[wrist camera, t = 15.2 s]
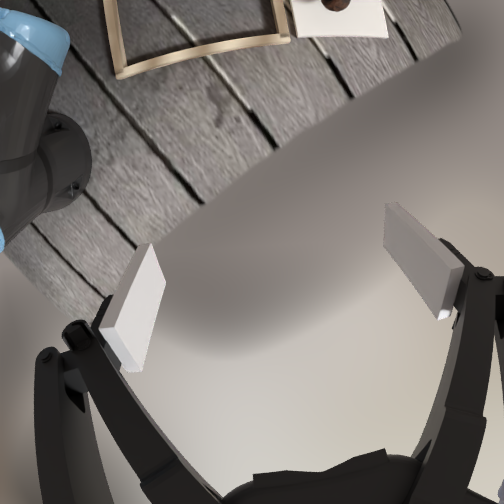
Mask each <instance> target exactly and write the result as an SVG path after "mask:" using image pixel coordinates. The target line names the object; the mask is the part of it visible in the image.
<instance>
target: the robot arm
mask: <svg viewBox="0 0 504 504" xmlns="http://www.w3.org/2000/svg"><path fill="white" fill-rule="evenodd" d="M69 46H70V37H69V34H68V33H67V31H66V30H65V29H63V28H62V27H60V26H58V25H56V24H54V23H51V22H49V21H46V20H44V19H41V18H38V17H36V16H33V15H29V14H26V13H23V12H19V11H15V10H9V9H4V8H1V7H0V253H1V252H2V251H3V249H4V247H5V246H6V245H7V244H8V243H9V242H10V241H11V240H13V239H14V238H15V237H16V236H17V235H18V234H19V233H20V232H21V231H22V230H23V229H24V228H25V227H26V226H27V225H28V224H30V223H31V222H32V221H33V220H34V219H35V218H36V217H37V216H39V215H40V214H41V213H46V212H51V211H55V210H59V209H62V208H64V207H66V206H68V205H69V204H71V203H72V202H73V201H74V200H75V199H77V198H78V197H79V196H80V195H81V193H82V192H83V191H84V189H85V188H86V186H87V183H88V181H89V178H90V174H91V167H92V157H91V150H90V146H89V143H88V140H87V138H86V136H85V134H84V132H83V130H82V129H81V128H80V126H79V125H78V124H77V123H76V122H75V121H73V120H72V119H71V118H69V117H67V116H65V115H62V114H57V113H50V114H47V111H48V108H49V105H50V101H51V98H52V95H53V92H54V89H55V86H56V84H57V81H58V78H59V77H61V74H62V71H61V68H62V65H63V63H64V60H65V57H66V54H67V51H68V49H69ZM383 246H384V248H385V249H386V250H387V251H388V253H389V254H390V255H391V257H392V258H393V259H394V261H395V262H396V263H397V264H398V266H399V267H400V268H401V270H402V271H403V272H404V274H405V275H406V276H407V278H408V279H409V280H410V282H411V283H412V285H413V286H414V287H415V289H416V290H417V292H418V293H419V294H420V296H421V297H422V299H423V300H424V301H425V303H426V304H427V306H428V307H429V309H430V310H431V311H432V313H433V315H434V316H435V317H436V319H437V320H440V319H443V318H446V317H449V316H450V315H451V312H452V309H453V306H454V307H455V308H456V309H457V311H458V312H457V316H456V318H455V321H454V324H453V327H452V329H453V334H452V339H451V343H450V348H449V352H448V356H447V360H446V364H445V367H444V371H443V375H442V378H441V382H440V385H439V388H438V392H437V394H436V397H435V401H434V404H433V406H432V410H431V412H430V415H429V418H428V421H427V423H426V426H425V428H424V431H423V433H422V436H421V438H420V441H419V443H418V445H417V447H416V449H415V450H414V452H413V454H412V456H411V457H407V456H403V455H391V454H390V455H387V453H386V450H385V448H384V449H381V450H377V451H374V452H371V453H367V454H363V455H360V456H356V457H353V458H351V459H349V460H347V461H345V462H343V463H341V464H339V465H337V466H335V467H333V468H330V469H328V470H326V471H323V472H303V471H288V470H286V471H278V472H269V473H260V474H253V481H250V482H247V483H245V484H243V485H240V486H239V487H237V488H235V489H234V490H232V491H231V492H229V493H228V494H227V495H226V496H225V497H222V496H221V495H220V494H219V493H218V492H217V491H216V490H215V489H214V488H212V487H211V486H210V485H209V484H208V483H207V482H206V481H205V480H204V479H203V478H202V477H201V476H200V475H199V473H198V472H197V471H196V470H195V469H194V468H193V467H192V466H191V465H190V464H189V462H188V461H187V460H186V459H185V458H184V457H183V456H182V454H181V453H180V452H179V451H178V450H177V449H176V447H175V446H174V445H173V444H172V443H171V441H170V440H169V439H168V438H167V436H166V435H165V434H164V433H163V431H162V430H161V429H160V428H159V426H158V425H157V424H156V422H155V421H154V420H153V418H152V417H151V416H150V414H149V413H148V412H147V410H146V409H145V408H144V406H143V405H142V404H141V402H140V401H139V399H138V398H137V396H136V395H135V394H134V392H133V391H132V389H131V388H130V386H129V385H128V383H127V382H126V380H125V379H124V378H123V376H122V374H121V373H120V371H119V370H120V367H121V364H122V366H123V367H124V368H125V370H126V371H127V372H142V369H143V365H144V361H145V357H146V353H147V349H148V345H149V341H150V338H151V334H152V330H153V327H154V323H155V319H156V316H157V312H158V308H159V305H160V302H161V298H162V294H163V291H164V288H165V285H166V281H165V279H164V276H163V274H162V271H161V268H160V266H159V263H158V260H157V258H156V255H155V252H154V249H153V247H152V244H151V243H148V244H143V245H139V246H138V248H137V250H136V252H135V254H134V255H133V257H132V259H131V261H130V263H129V265H128V267H127V269H126V271H125V273H124V275H123V277H122V279H121V281H120V283H119V285H118V287H117V289H116V291H115V293H114V295H109V296H108V297H107V298H106V299H105V300H104V301H103V302H102V304H101V306H100V308H99V311H98V312H97V314H96V317H95V319H94V321H93V323H92V325H91V327H89V325H88V323H87V322H86V321H85V320H76V321H74V322H71V323H70V324H69V325H67V326H66V328H65V329H64V330H63V332H62V339H63V341H64V342H65V343H66V345H67V346H68V348H69V349H70V350H69V351H66V352H63V353H59V351H58V350H57V349H56V348H55V347H48V348H45V349H43V350H42V351H41V352H40V353H39V355H38V356H37V358H36V362H35V381H34V428H35V446H36V456H37V466H38V475H39V482H40V489H41V495H42V500H43V504H114V502H113V499H112V496H111V493H110V490H109V486H108V483H107V480H106V476H105V473H104V469H103V466H102V462H101V458H100V454H99V450H98V446H97V441H96V437H95V432H94V427H93V422H92V417H91V411H90V405H89V399H88V394H87V392H88V391H89V393H90V395H91V397H92V399H93V401H94V403H95V405H96V407H97V409H98V411H99V413H100V415H101V416H102V418H103V420H104V422H105V424H106V426H107V427H108V429H109V431H110V433H111V435H112V436H113V438H114V440H115V441H116V443H117V445H118V446H119V448H120V450H121V451H122V453H123V455H124V456H125V458H126V459H127V461H128V462H129V464H130V465H131V467H132V468H133V470H134V471H135V473H136V474H137V476H138V477H139V479H140V481H141V483H140V487H141V489H142V491H143V492H144V493H145V495H146V496H147V498H148V499H149V500H150V502H151V503H152V504H504V480H503V482H502V486H501V487H500V488H499V490H498V497H499V498H500V501H499V503H496V502H494V501H492V500H490V499H488V498H486V497H483V496H482V495H480V494H478V493H476V492H474V491H472V490H470V489H468V488H467V487H468V485H469V482H470V479H471V476H472V473H473V470H474V467H475V464H476V461H477V458H478V454H479V451H480V447H481V444H482V440H483V436H484V432H485V428H486V421H487V420H486V417H483V410H484V405H485V400H486V395H487V389H488V383H489V377H490V369H491V361H492V352H493V341H494V335H495V341H496V346H497V352H498V358H499V365H500V372H501V381H502V390H503V401H504V276H494V274H493V273H492V272H491V271H489V270H488V269H486V268H483V267H474V266H473V265H472V264H471V263H470V262H469V261H468V260H467V259H466V258H465V257H464V256H463V255H462V254H460V252H459V251H458V250H457V249H456V248H455V247H454V246H453V245H452V244H451V243H449V242H448V241H446V240H444V239H442V238H440V239H437V238H436V237H435V236H434V235H433V234H432V233H431V232H430V231H429V230H428V229H427V228H426V227H424V226H423V225H422V224H421V223H420V222H419V221H418V220H417V219H416V218H415V217H413V216H412V215H411V214H410V213H409V212H407V210H405V209H404V208H403V207H402V206H401V205H400V204H398V203H397V202H394V203H386V204H385V223H384V242H383ZM503 403H504V402H503Z"/></svg>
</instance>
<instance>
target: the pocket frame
mask: <svg viewBox="0 0 504 504" xmlns="http://www.w3.org/2000/svg"><path fill="white" fill-rule="evenodd" d="M103 2H104V10H105V17H106V24H107V30H108V36H109V42H110V48H111V53H112V59H113V64H114V69H115V74H116V79H124V78H127V77H130V76H133V75H136V74H139V73H142V72H145V71H149V70H152V69H155V68H159V67H162V66H166V65H169V64H173V63H177V62H181V61H185V60H189V59H193V58H198V57H202V56H207V55H212V54H217V53H222V52H227V51H233V50H239V49H246V48H252V47H260V46H268V45H278V44H288V43H289V42H290V41H291V40H290V35H289V30H288V25H287V20H286V15H285V10H284V5H283V0H270V2H271V7H272V11H273V16H274V21H275V26H276V31H277V34H271V35H262V36H254V37H247V38H240V39H234V40H228V41H222V42H217V43H212V44H207V45H202V46H198V47H194V48H189V49H185V50H181V51H177V52H173V53H170V54H166V55H163V56H159V57H156V58H152V59H149V60H146V61H143V62H140V63H137V64H134V65H131V66H128V65H127V60H126V55H125V50H124V44H123V38H122V33H121V27H120V20H119V14H118V7H117V0H103Z"/></svg>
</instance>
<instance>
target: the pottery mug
mask: <svg viewBox="0 0 504 504" xmlns="http://www.w3.org/2000/svg"><path fill="white" fill-rule="evenodd" d="M350 1H351V0H321V3H322V4H323V6H324V7H325V8H326V9H328V10H330V11H335V12H339V11H342V10H344V9H345V8H347V7H348V5H349V4H350Z"/></svg>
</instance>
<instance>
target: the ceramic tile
mask: <svg viewBox="0 0 504 504" xmlns="http://www.w3.org/2000/svg"><path fill="white" fill-rule="evenodd" d="M289 1H290V6H291V11H292V15H293V20H294V25H295V30H296V36H297V38H307V37H371V38H389V37H388V32H387V26H386V21H385V16H384V11H383V7H382V2H381V0H351V1H350V4H349V5H348V7H347V8H345V9H344V10H342V11H339V12H335V11H330V10H328V9H326V8H325V7H324V6H323V4H322V3H321V0H289Z"/></svg>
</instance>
